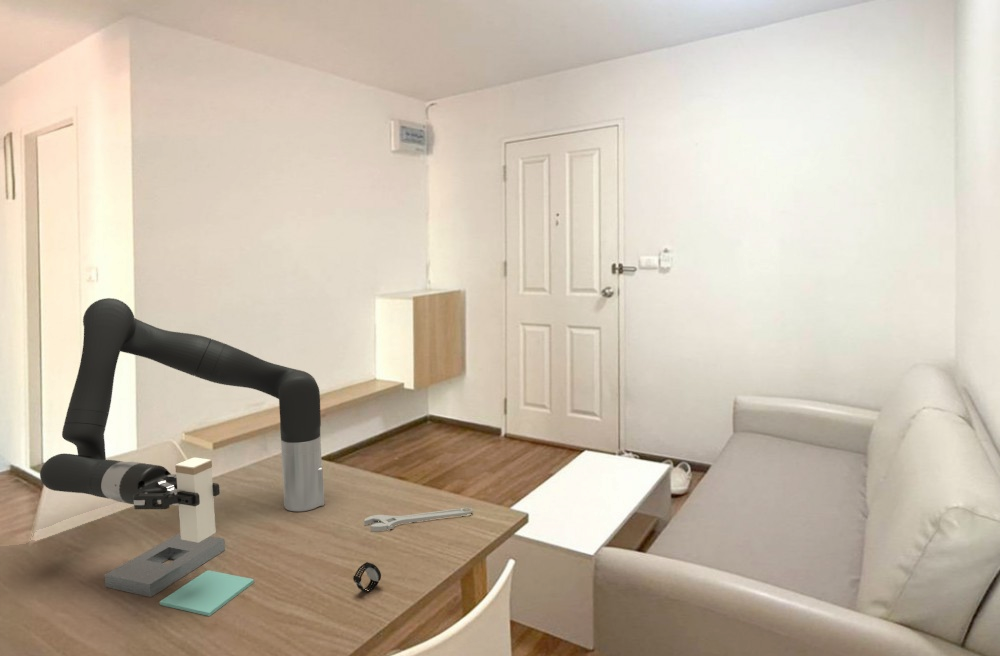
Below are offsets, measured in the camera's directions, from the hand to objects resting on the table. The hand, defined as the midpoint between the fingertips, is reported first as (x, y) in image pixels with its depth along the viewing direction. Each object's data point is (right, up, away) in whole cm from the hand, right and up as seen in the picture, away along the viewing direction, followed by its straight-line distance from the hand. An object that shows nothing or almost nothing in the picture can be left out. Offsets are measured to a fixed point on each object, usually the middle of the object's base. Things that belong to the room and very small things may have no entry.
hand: (207, 494), depth 105 cm
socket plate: (-13, -18, +11) cm, 25 cm away
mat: (-1, -19, +2) cm, 19 cm away
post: (-3, -8, +2) cm, 9 cm away
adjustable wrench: (+34, -16, +31) cm, 49 cm away
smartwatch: (+28, -19, +3) cm, 34 cm away
